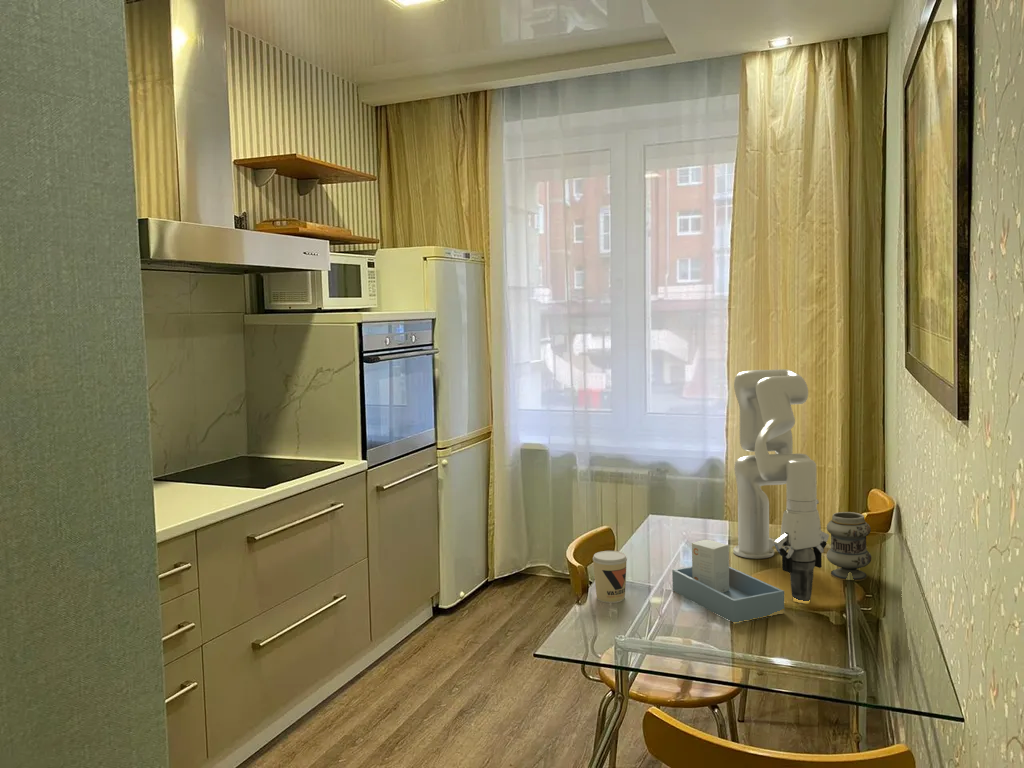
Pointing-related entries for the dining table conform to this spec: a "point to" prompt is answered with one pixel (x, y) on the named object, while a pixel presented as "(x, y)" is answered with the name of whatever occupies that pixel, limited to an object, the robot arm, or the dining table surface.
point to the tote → (731, 595)
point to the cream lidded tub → (610, 576)
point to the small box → (711, 564)
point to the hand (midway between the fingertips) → (801, 569)
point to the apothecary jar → (848, 545)
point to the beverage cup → (802, 573)
